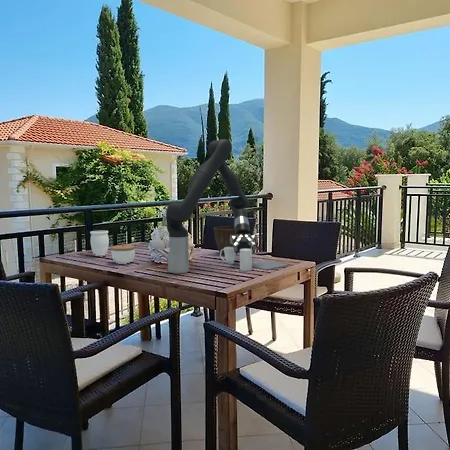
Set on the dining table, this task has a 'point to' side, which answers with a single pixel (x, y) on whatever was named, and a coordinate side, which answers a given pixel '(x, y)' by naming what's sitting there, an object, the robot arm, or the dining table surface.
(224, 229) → the plant pot
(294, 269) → the dining table surface
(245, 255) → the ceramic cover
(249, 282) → the dining table surface
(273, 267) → the rubber mat
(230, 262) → the cup
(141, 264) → the dining table surface
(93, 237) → the jar
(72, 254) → the dining table surface
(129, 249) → the lidded bowl
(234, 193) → the robot arm
